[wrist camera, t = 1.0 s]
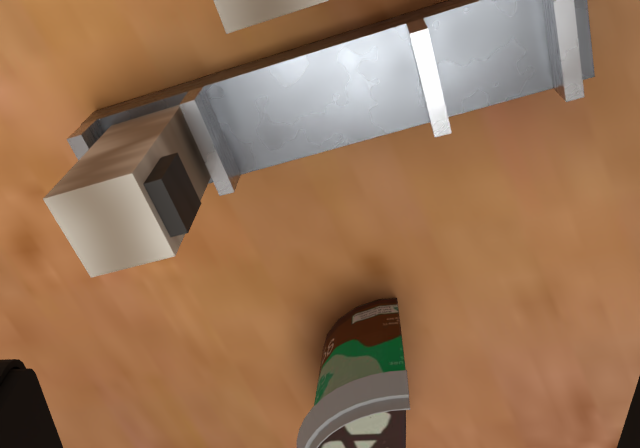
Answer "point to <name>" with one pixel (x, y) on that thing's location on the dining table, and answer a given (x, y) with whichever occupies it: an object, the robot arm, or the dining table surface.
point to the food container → (361, 383)
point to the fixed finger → (132, 193)
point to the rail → (371, 83)
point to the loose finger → (256, 11)
